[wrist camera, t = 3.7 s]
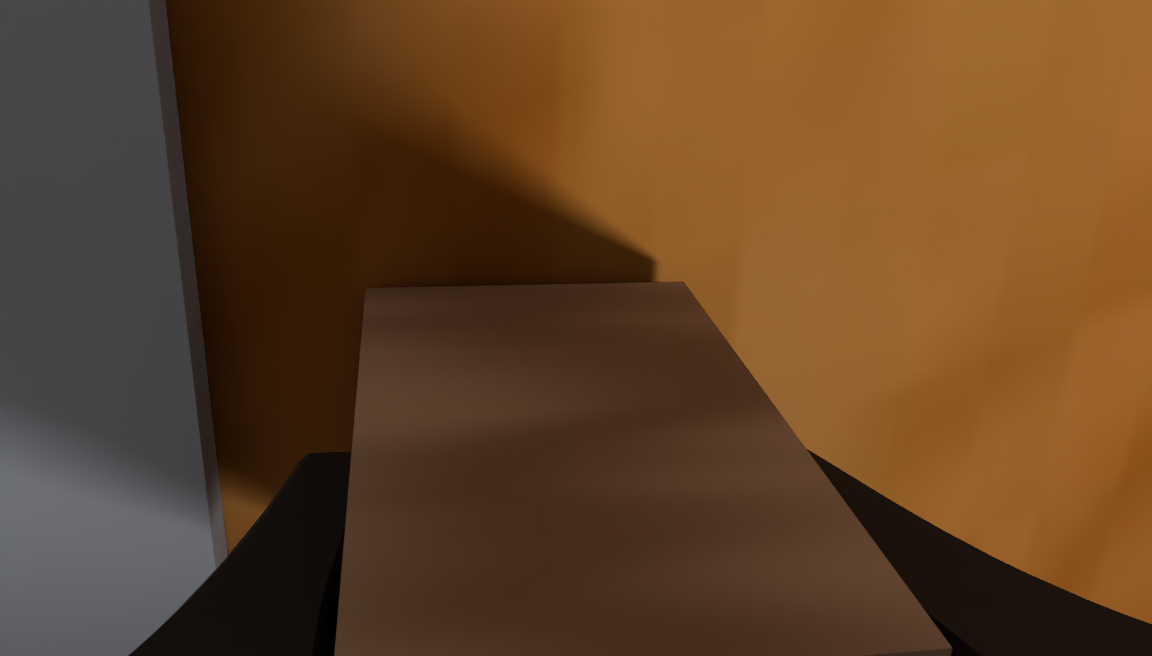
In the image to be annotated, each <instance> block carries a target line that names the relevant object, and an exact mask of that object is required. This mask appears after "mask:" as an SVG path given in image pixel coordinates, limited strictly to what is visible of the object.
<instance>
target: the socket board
mask: <svg viewBox="0 0 1152 656" xmlns="http://www.w3.org/2000/svg"><path fill="white" fill-rule="evenodd" d="M227 556H228V554H227V545H226V536H225V527H224V518H223V509H222V500H221V492H220V483H219V474H218V465H217V456H216V447H215V438H214V429H213V420H212V411H211V402H210V393H209V384H208V375H207V366H206V357H205V349H204V340H203V331H202V322H201V313H200V304H199V295H198V286H197V277H196V268H195V259H194V250H193V241H192V232H191V223H190V215H189V206H188V197H187V188H186V179H185V170H184V161H183V152H182V143H181V134H180V125H179V116H178V107H177V98H176V89H175V80H174V72H173V63H172V54H171V45H170V36H169V27H168V18H167V9H166V0H0V656H128V655H129V654H131V653H132V652H133V651H134V650H135V649H136V648H138V647H139V646H140V645H141V644H142V643H143V642H144V641H145V640H147V639H148V638H149V637H150V636H151V635H152V634H153V633H154V632H155V631H156V630H157V629H158V628H159V627H160V626H161V625H163V624H164V623H165V622H166V621H167V620H168V619H169V618H170V617H171V616H172V615H173V614H174V613H175V612H176V611H177V610H178V609H179V608H180V607H181V606H182V605H183V604H184V603H185V602H186V601H187V599H188V598H189V597H190V596H191V595H192V594H193V593H194V592H195V591H196V590H197V589H198V588H199V587H200V586H201V585H202V584H203V583H204V581H205V580H206V579H207V578H208V577H209V576H210V575H211V574H212V573H213V572H214V571H215V570H216V569H217V568H218V567H219V565H220V564H221V563H222V562H223V561H224V560H225V559H226V557H227Z"/></svg>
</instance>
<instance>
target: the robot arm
mask: <svg viewBox="0 0 1152 656" xmlns="http://www.w3.org/2000/svg"><path fill="white" fill-rule="evenodd" d="M807 451H808V452H809V453H810V455H811V456H812V457H813V459H814V460H815V461H816V463H817V464H818V466H819V467H820V468H821V470H822V471H823V472H824V474H825V475H826V476H827V478H828V479H829V481H830V482H831V483H832V485H833V486H834V487H835V489H836V490H837V491H838V493H839V494H840V496H841V497H842V498H843V500H844V501H845V502H846V504H847V505H848V506H849V508H850V509H851V511H852V512H853V513H854V515H855V516H856V517H857V519H858V520H859V521H860V523H861V524H862V526H863V527H864V528H865V530H866V531H867V532H868V534H869V535H870V536H871V538H872V539H873V541H874V542H875V543H876V545H877V546H878V547H879V549H880V550H881V551H882V553H883V554H884V556H885V557H886V558H887V560H888V561H889V562H890V564H891V565H892V566H893V568H894V569H895V571H896V572H897V573H898V575H899V576H900V577H901V579H902V580H903V581H904V583H905V584H906V585H907V587H908V588H909V590H910V591H911V592H912V594H913V595H914V596H915V598H916V599H917V600H918V602H919V603H920V605H921V606H922V607H923V609H924V610H925V611H926V613H927V614H928V615H929V617H930V618H931V620H932V621H933V622H934V624H935V625H936V626H937V628H938V629H939V630H940V632H941V633H942V635H943V636H944V637H945V639H946V640H947V641H948V643H949V644H950V645H951V647H952V652H951V656H1152V624H1149V623H1147V622H1144V621H1141V620H1138V619H1135V618H1133V617H1130V616H1127V615H1124V614H1122V613H1119V612H1117V611H1114V610H1112V609H1109V608H1106V607H1104V606H1101V605H1099V604H1096V603H1094V602H1091V601H1089V600H1086V599H1084V598H1082V597H1079V596H1077V595H1075V594H1073V593H1070V592H1068V591H1066V590H1064V589H1061V588H1059V587H1057V586H1055V585H1052V584H1050V583H1048V582H1046V581H1043V580H1041V579H1039V578H1036V577H1034V576H1032V575H1030V574H1027V573H1025V572H1023V571H1021V570H1019V569H1017V568H1015V567H1013V566H1011V565H1008V564H1006V563H1004V562H1002V561H1000V560H998V559H996V558H994V557H992V556H990V555H988V554H987V553H985V552H983V551H981V550H979V549H977V548H975V547H973V546H971V545H970V544H968V543H966V542H964V541H962V540H960V539H958V538H956V537H954V536H953V535H951V534H949V533H947V532H945V531H943V530H941V529H940V528H938V527H936V526H934V525H933V524H931V523H929V522H927V521H925V520H924V519H922V518H920V517H918V516H917V515H915V514H913V513H912V512H910V511H908V510H906V509H905V508H903V507H901V506H900V505H898V504H896V503H895V502H893V501H891V500H890V499H888V498H886V497H885V496H883V495H881V494H880V493H878V492H876V491H875V490H873V489H871V488H870V487H868V486H866V485H865V484H863V483H862V482H860V481H858V480H857V479H855V478H853V477H852V476H850V475H849V474H847V473H845V472H844V471H842V470H840V469H839V468H837V467H836V466H834V465H832V464H831V463H829V462H827V461H826V460H824V459H823V458H821V457H819V456H818V455H816V454H814V453H813V452H811V451H809V450H807ZM351 453H352V452H332V453H310V454H307V455H306V456H305V457H304V458H303V459H302V460H301V461H300V462H299V463H298V464H297V466H296V468H295V469H294V471H293V472H292V474H291V475H290V476H289V478H288V479H287V481H286V482H285V484H284V485H283V487H282V488H281V489H280V491H279V492H278V493H277V495H276V496H275V498H274V499H273V500H272V502H271V503H270V504H269V506H268V507H267V508H266V510H265V511H264V512H263V513H262V515H261V516H260V517H259V519H258V520H257V521H256V522H255V524H254V525H253V526H252V527H251V528H250V530H249V531H248V532H247V533H246V535H245V536H244V537H243V538H242V539H241V541H240V542H239V543H238V544H237V545H236V547H235V548H234V549H233V550H232V552H231V553H230V554H229V555H228V556H227V557H226V559H225V560H224V561H223V562H222V563H221V564H220V565H219V567H218V568H217V569H216V570H215V571H214V572H213V573H212V574H211V575H210V576H209V577H208V578H207V579H206V580H205V581H204V583H203V584H202V585H201V586H200V587H199V588H198V589H197V590H196V591H195V592H194V593H193V594H192V595H191V596H190V597H189V598H188V599H187V601H186V602H185V603H184V604H183V605H182V606H181V607H180V608H179V609H178V610H177V611H176V612H175V613H174V614H173V615H172V616H171V617H170V618H169V619H168V620H167V621H166V622H165V623H164V624H163V625H161V626H160V627H159V628H158V629H157V630H156V631H155V632H154V633H153V634H152V635H151V636H150V637H149V638H148V639H147V640H145V641H144V642H143V643H142V644H141V645H140V646H139V647H138V648H136V649H135V650H134V651H133V652H132V653H131V654H129V655H128V656H334V653H335V642H336V630H337V618H338V606H339V594H340V583H341V571H342V559H343V547H344V535H345V524H346V512H347V500H348V488H349V476H350V465H351Z"/></svg>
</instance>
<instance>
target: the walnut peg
mask: <svg viewBox="0 0 1152 656" xmlns="http://www.w3.org/2000/svg"><path fill="white" fill-rule="evenodd" d="M951 652H952V647H951V645H950V644H949V643H948V641H947V640H946V639H945V637H944V636H943V635H942V633H941V632H940V630H939V629H938V628H937V626H936V625H935V624H934V622H933V621H932V620H931V618H930V617H929V615H928V614H927V613H926V611H925V610H924V609H923V607H922V606H921V605H920V603H919V602H918V600H917V599H916V598H915V596H914V595H913V594H912V592H911V591H910V590H909V588H908V587H907V585H906V584H905V583H904V581H903V580H902V579H901V577H900V576H899V575H898V573H897V572H896V571H895V569H894V568H893V566H892V565H891V564H890V562H889V561H888V560H887V558H886V557H885V556H884V554H883V553H882V551H881V550H880V549H879V547H878V546H877V545H876V543H875V542H874V541H873V539H872V538H871V536H870V535H869V534H868V532H867V531H866V530H865V528H864V527H863V526H862V524H861V523H860V521H859V520H858V519H857V517H856V516H855V515H854V513H853V512H852V511H851V509H850V508H849V506H848V505H847V504H846V502H845V501H844V500H843V498H842V497H841V496H840V494H839V493H838V491H837V490H836V489H835V487H834V486H833V485H832V483H831V482H830V481H829V479H828V478H827V476H826V475H825V474H824V472H823V471H822V470H821V468H820V467H819V466H818V464H817V463H816V461H815V460H814V459H813V457H812V456H811V455H810V453H809V452H808V451H807V449H806V448H805V447H804V445H803V444H802V442H801V441H800V440H799V438H798V437H797V436H796V434H795V433H794V432H793V430H792V429H791V427H790V426H789V425H788V423H787V422H786V421H785V419H784V418H783V417H782V415H781V414H780V412H779V411H778V410H777V408H776V407H775V406H774V404H773V403H772V402H771V400H770V399H769V397H768V396H767V395H766V393H765V392H764V391H763V389H762V388H761V387H760V385H759V384H758V382H757V381H756V380H755V378H754V377H753V376H752V374H751V373H750V372H749V370H748V369H747V367H746V366H745V365H744V363H743V362H742V361H741V359H740V358H739V357H738V355H737V354H736V352H735V351H734V350H733V348H732V347H731V346H730V344H729V343H728V342H727V340H726V339H725V338H724V336H723V335H722V333H721V332H720V331H719V329H718V328H717V327H716V325H715V324H714V323H713V321H712V320H711V318H710V317H709V316H708V314H707V313H706V312H705V310H704V309H703V308H702V306H701V305H700V303H699V302H698V301H697V299H696V298H695V297H694V295H693V294H692V293H691V291H690V290H689V288H688V287H687V286H686V284H685V283H684V282H646V283H594V284H542V285H490V286H438V287H387V288H365V299H364V311H363V323H362V335H361V347H360V358H359V370H358V382H357V394H356V406H355V417H354V429H353V441H352V453H351V465H350V476H349V488H348V500H347V512H346V524H345V535H344V547H343V559H342V571H341V583H340V594H339V606H338V618H337V630H336V642H335V653H334V656H951Z"/></svg>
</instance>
